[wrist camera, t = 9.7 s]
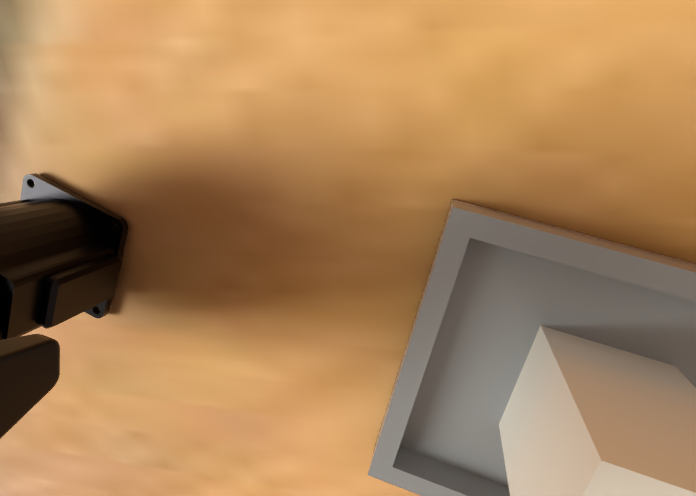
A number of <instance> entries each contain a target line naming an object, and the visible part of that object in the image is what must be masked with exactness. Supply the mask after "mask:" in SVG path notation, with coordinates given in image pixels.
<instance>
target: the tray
mask: <svg viewBox="0 0 696 496" xmlns="http://www.w3.org/2000/svg"><path fill="white" fill-rule="evenodd" d="M540 325H541V326H544V327H547V328H551V329H554V330H557V331H561V332H564V333H567V334H571V335H574V336H577V337H581V338H584V339H587V340H590V341H594V342H597V343H600V344H604V345H607V346H610V347H614V348H617V349H620V350H624V351H627V352H630V353H634V354H637V355H640V356H644V357H647V358H650V359H653V360H657V361H660V362H663V363H667V364H670V365H673V366H675V367H676V368H677V369H678V370H679V371H680V372H681V373H682V374H683V375H684V376H685V377H686V378H687V379H688V380H689V381H690V382H691V383H692V384H693V386H694V387H695V388H696V264H695V263H691V262H687V261H684V260H680V259H676V258H672V257H669V256H665V255H661V254H657V253H654V252H650V251H646V250H642V249H639V248H635V247H631V246H627V245H624V244H620V243H616V242H612V241H609V240H605V239H601V238H598V237H594V236H590V235H586V234H583V233H579V232H575V231H571V230H568V229H564V228H560V227H556V226H553V225H549V224H545V223H541V222H538V221H534V220H530V219H526V218H523V217H519V216H515V215H511V214H508V213H504V212H500V211H497V210H493V209H489V208H485V207H482V206H478V205H474V204H470V203H467V202H463V201H459V200H455V199H452V202H451V206H450V209H449V212H448V215H447V218H446V221H445V225H444V228H443V231H442V234H441V237H440V241H439V244H438V247H437V250H436V253H435V257H434V260H433V263H432V266H431V269H430V272H429V276H428V279H427V282H426V285H425V288H424V292H423V295H422V298H421V301H420V304H419V307H418V311H417V314H416V317H415V320H414V323H413V327H412V330H411V333H410V336H409V339H408V342H407V346H406V349H405V352H404V355H403V358H402V362H401V365H400V368H399V371H398V374H397V377H396V381H395V384H394V387H393V390H392V393H391V397H390V400H389V403H388V406H387V409H386V412H385V416H384V419H383V422H382V425H381V428H380V432H379V435H378V438H377V441H376V444H375V448H374V452H373V456H372V460H371V464H370V468H369V472H368V475H369V476H372V477H374V478H377V479H380V480H382V481H385V482H387V483H390V484H392V485H395V486H398V487H400V488H403V489H405V490H408V491H411V492H413V493H416V494H418V495H421V496H510V493H509V486H508V480H507V474H506V467H505V461H504V454H503V448H502V442H501V435H500V429H499V423H500V421H501V418H502V416H503V413H504V411H505V409H506V406H507V404H508V402H509V399H510V397H511V394H512V392H513V390H514V387H515V385H516V383H517V380H518V378H519V375H520V373H521V371H522V368H523V366H524V363H525V361H526V359H527V356H528V354H529V352H530V349H531V347H532V344H533V342H534V340H535V337H536V335H537V333H538V330H539V328H540Z"/></svg>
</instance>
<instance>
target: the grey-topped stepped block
mask: <svg viewBox="0 0 696 496" xmlns="http://www.w3.org/2000/svg"><path fill="white" fill-rule="evenodd" d="M499 429H500V435H501V442H502V448H503V454H504V461H505V467H506V474H507V480H508V486H509V493H510V496H696V388H695V387H694V386H693V384H692V383H691V382H690V381H689V380H688V379H687V378H686V377H685V376H684V375H683V374H682V373H681V372H680V371H679V370H678V369H677V368H676V367H675V366H673V365H670V364H667V363H663V362H660V361H657V360H653V359H650V358H647V357H644V356H640V355H637V354H634V353H630V352H627V351H624V350H620V349H617V348H614V347H610V346H607V345H604V344H600V343H597V342H594V341H590V340H587V339H584V338H581V337H577V336H574V335H571V334H567V333H564V332H561V331H557V330H554V329H551V328H547V327H544V326H541V325H540V328H539V330H538V333H537V335H536V337H535V340H534V342H533V344H532V347H531V349H530V352H529V354H528V356H527V359H526V361H525V363H524V366H523V368H522V371H521V373H520V375H519V378H518V380H517V383H516V385H515V387H514V390H513V392H512V394H511V397H510V399H509V402H508V404H507V406H506V409H505V411H504V413H503V416H502V418H501V421H500V423H499Z"/></svg>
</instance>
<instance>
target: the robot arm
mask: <svg viewBox="0 0 696 496" xmlns="http://www.w3.org/2000/svg"><path fill="white" fill-rule="evenodd" d="M116 223H117V224H118V226H119V229H118V228H117V226H116ZM127 232H128V223H127V221H126V220H125V219H124V218H123V217H121V216H119V215H117V214H115V213H113V212H111V211H109V210H107V209H105V208H103V207H101V206H99V205H97V204H95V203H94V202H92V201H90V200H88V199H86V198H84V197H82V196H80V195H78V194H76V193H74V192H72V191H70V190H68V189H66V188H64V187H62V186H60V185H59V184H57V183H55V182H53V181H51V180H49V179H47V178H45V177H43V176H41V175H39V174H27V175H25V176H24V179H23V185H22V192H21V200H19V201H13V202H7V203H1V204H0V438H1V437H2V436H4V435H5V434H6V433H7V432H8V431H9V430H10V429H11V428H12V427H13V426H14V425H15V424H16V423H17V422H18V421H19V420H20V419H21V418H22V417H23V416H24V415H25V414H26V413H27V412H28V411H29V410H30V409H31V408H32V407H33V406H35V405H36V404H37V403H38V402H39V401H40V400H41V399H42V398H43V397H44V396H45V395H46V394H47V393H48V392H49V391H50V390H51V389H52V388H53V387H54V386H55V384H56V383H57V381H58V378H59V374H60V346H59V343H58V342H57V341H56V340H54V339H52V338H49V337H46V336H44V335H40V334H32V335H27V336H22V335H24V334H26V333H28V332H30V331H32V330H34V329H36V328H39V327H41V326H42V327H44V328H46V329H47V328H50V327H53V326H55V325H57V324H59V323H61V322H64V321H66V320H68V319H70V318H72V317H74V316H76V315H78V314H80V313H82V312H86V313H88V314H90V315H91V316H93V317H95V318H101V317H103V316H105V315H107V314H108V312H109V309H110V305H111V300H112V297H113V295H114V291H115V286H116V282H117V278H118V274H119V269H120V265H121V258H122V254H123V249H124V245H125V241H126V236H127ZM99 309H100V310H99ZM20 336H21V337H20Z"/></svg>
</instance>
